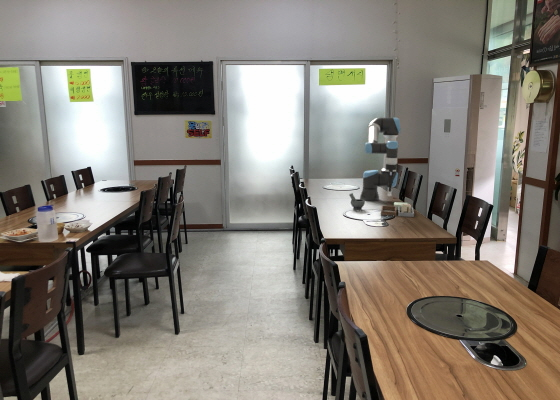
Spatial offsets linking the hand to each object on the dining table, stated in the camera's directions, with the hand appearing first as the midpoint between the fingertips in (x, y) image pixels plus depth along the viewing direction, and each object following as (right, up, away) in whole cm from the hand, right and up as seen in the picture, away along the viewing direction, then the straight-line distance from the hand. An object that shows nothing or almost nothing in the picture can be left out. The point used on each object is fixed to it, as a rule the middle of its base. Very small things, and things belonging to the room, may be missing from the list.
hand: (389, 194), depth 314 cm
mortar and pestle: (-21, -11, +10) cm, 26 cm away
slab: (+12, -10, +16) cm, 22 cm away
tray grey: (+11, -13, 0) cm, 17 cm away
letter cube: (+11, -13, 0) cm, 17 cm away
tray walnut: (0, -12, +2) cm, 13 cm away
